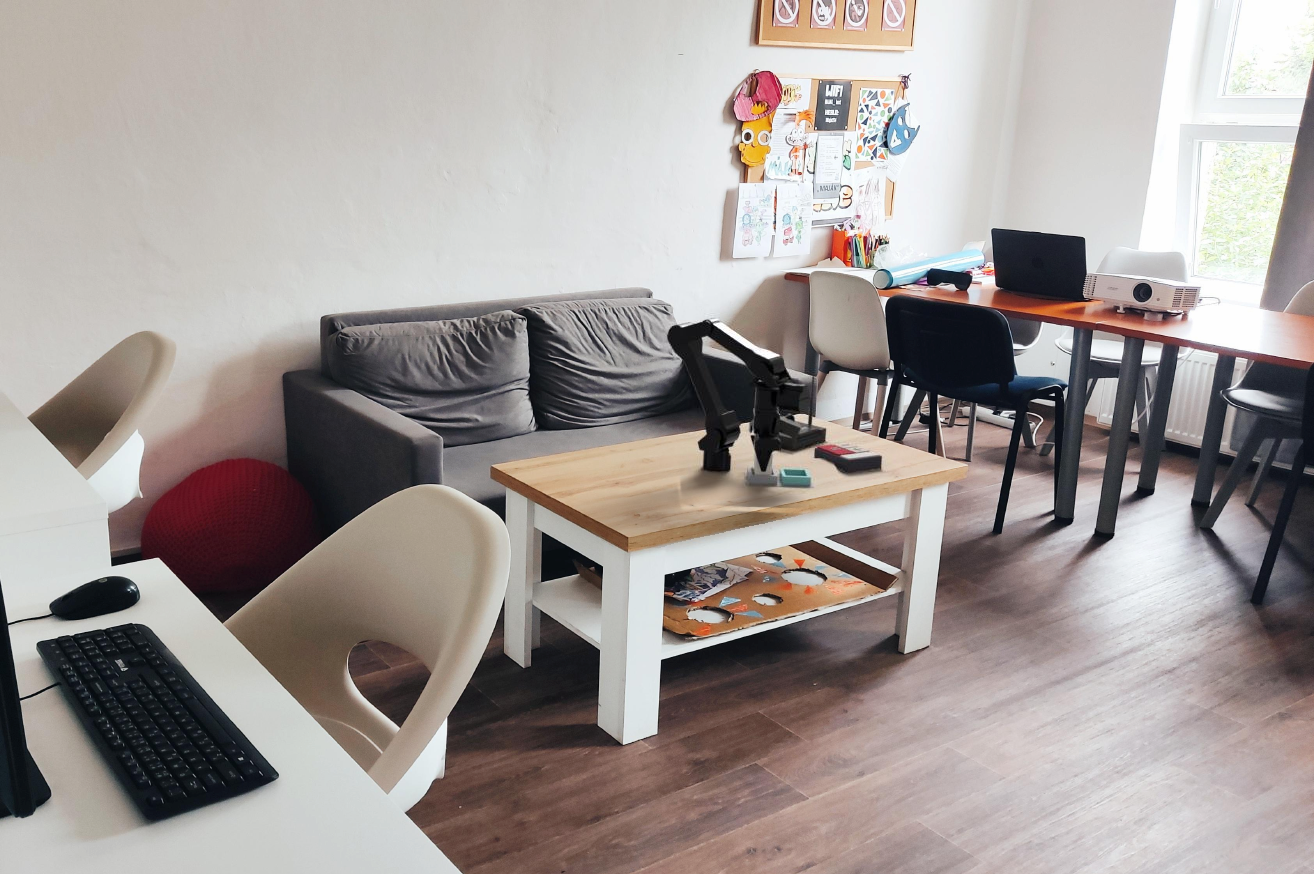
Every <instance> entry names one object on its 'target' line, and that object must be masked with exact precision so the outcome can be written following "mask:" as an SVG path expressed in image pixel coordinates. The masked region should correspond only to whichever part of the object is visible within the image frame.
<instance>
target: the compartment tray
mask: <svg viewBox="0 0 1314 874" xmlns="http://www.w3.org/2000/svg"><path fill="white" fill-rule="evenodd" d="M753 471H754V466H753V467H752V466H751V467H750V466H747V468H746V472H744V479H745V483H746V486H749V487H751V486H752V487H754V486H756V487H778V488H779V487H781V488H783V487H784V488H785V487H787V488H808V489H809V488H814V485H813V483H812V476H811V473H810V472H809V470H808V469H807V468H791V467H790V468H788V467H785V468H784V467H783V468H781V467H779V473H777V470H776V468H775V467H772V475H753Z"/></svg>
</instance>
